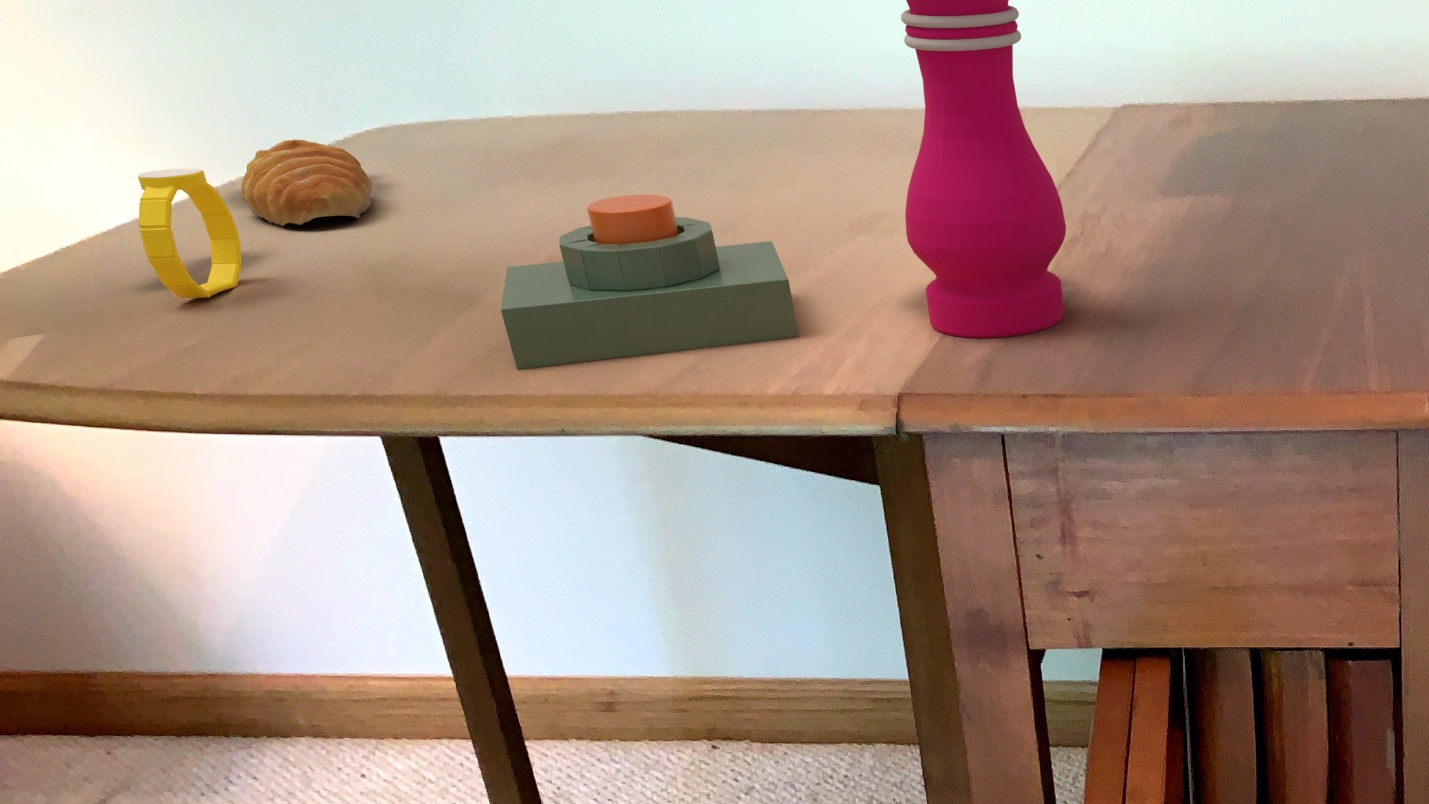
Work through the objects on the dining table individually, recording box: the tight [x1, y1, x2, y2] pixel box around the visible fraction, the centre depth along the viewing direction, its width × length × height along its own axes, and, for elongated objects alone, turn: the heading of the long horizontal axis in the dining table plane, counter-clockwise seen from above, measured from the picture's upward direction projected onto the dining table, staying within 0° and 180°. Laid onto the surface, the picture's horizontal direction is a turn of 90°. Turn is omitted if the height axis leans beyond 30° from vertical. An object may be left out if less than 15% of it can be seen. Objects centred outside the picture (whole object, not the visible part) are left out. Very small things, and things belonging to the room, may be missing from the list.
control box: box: [500, 216, 800, 371], centre depth 79 cm, size 12×8×4 cm, turn 112°
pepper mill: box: [900, 0, 1067, 339], centre depth 75 cm, size 7×7×20 cm
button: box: [586, 194, 679, 244], centre depth 77 cm, size 4×4×2 cm
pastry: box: [241, 139, 373, 227], centre depth 101 cm, size 9×7×4 cm
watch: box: [137, 167, 243, 299], centre depth 85 cm, size 6×3×6 cm, turn 4°
